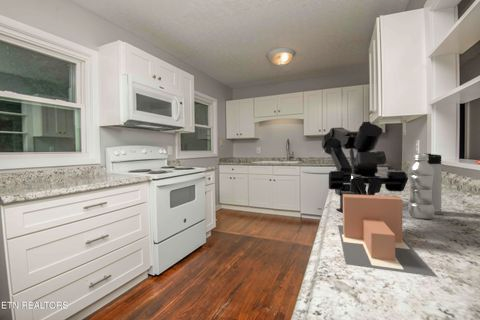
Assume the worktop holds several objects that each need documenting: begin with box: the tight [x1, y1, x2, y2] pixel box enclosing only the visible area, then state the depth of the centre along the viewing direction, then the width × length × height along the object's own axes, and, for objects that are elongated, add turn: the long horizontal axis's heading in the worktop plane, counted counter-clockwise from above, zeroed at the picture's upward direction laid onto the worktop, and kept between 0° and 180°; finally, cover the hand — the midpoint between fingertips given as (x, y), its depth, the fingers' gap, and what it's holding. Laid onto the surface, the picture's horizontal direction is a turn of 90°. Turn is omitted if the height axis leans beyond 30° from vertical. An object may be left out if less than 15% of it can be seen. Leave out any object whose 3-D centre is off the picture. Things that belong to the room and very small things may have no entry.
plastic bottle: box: [407, 153, 435, 220], centre depth 69 cm, size 6×7×20 cm
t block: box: [342, 194, 403, 261], centre depth 50 cm, size 14×12×10 cm
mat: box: [337, 224, 439, 278], centre depth 50 cm, size 24×14×1 cm, turn 160°
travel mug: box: [427, 153, 443, 216], centre depth 76 cm, size 6×7×20 cm
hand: (369, 206), depth 56 cm, fingers closed, pressing on t block
